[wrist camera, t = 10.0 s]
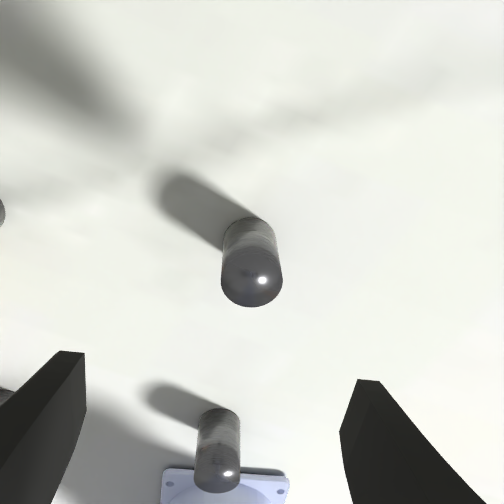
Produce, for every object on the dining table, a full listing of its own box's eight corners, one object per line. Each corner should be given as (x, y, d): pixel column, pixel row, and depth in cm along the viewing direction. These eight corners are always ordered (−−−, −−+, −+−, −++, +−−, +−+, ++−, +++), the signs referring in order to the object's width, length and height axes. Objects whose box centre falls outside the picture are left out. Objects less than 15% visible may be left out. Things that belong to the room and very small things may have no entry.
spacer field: (237, 438, 26) (236, 495, 23) (-14, 418, 25) (-50, 475, 22) (280, 221, 20) (287, 258, 16) (-58, 177, 18) (-119, 209, 15)
